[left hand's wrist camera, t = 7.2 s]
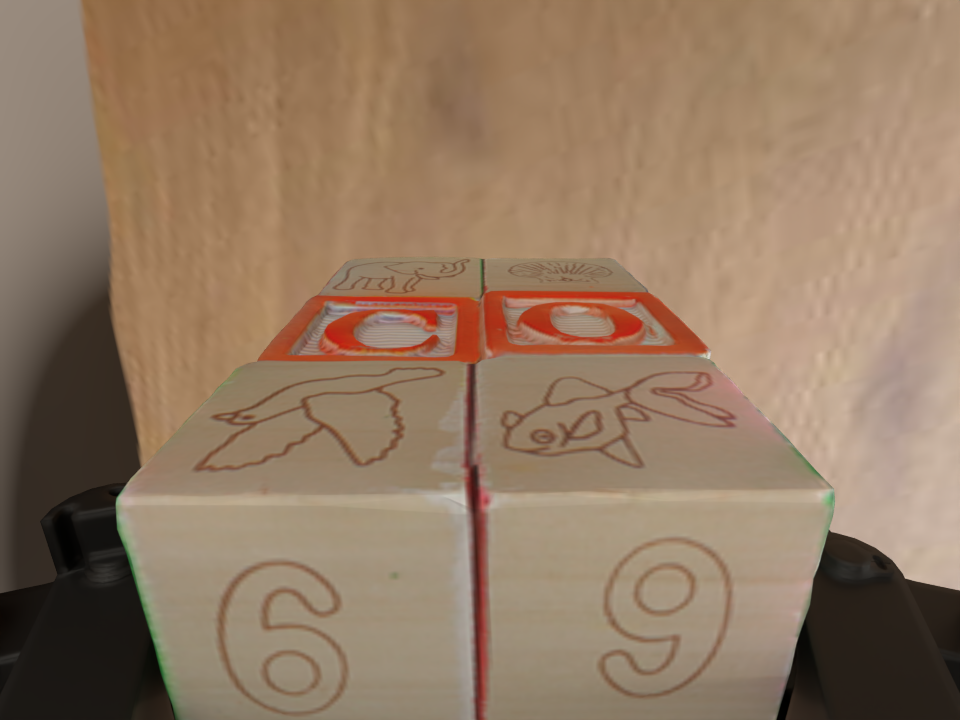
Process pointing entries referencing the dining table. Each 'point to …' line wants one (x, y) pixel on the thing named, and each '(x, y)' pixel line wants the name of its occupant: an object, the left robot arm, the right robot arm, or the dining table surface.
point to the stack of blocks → (477, 511)
